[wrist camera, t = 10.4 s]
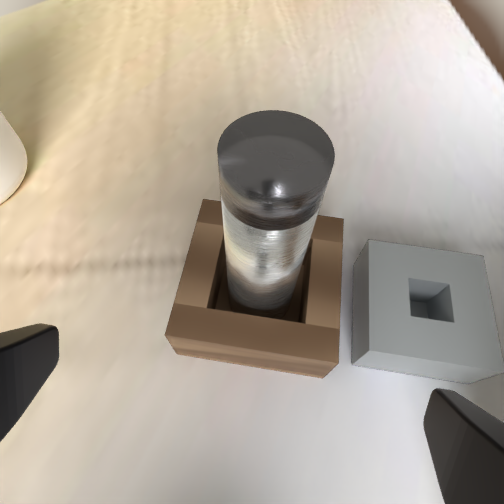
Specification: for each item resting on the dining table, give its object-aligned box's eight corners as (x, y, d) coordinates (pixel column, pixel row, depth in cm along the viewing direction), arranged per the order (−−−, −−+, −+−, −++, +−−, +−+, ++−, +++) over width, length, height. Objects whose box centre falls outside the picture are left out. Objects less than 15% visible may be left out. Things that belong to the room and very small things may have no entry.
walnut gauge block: (322, 378, 22) (338, 363, 18) (176, 354, 22) (164, 334, 19) (329, 250, 26) (343, 218, 23) (208, 232, 26) (203, 199, 23)
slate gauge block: (468, 384, 22) (505, 372, 19) (351, 365, 22) (369, 350, 19) (454, 280, 25) (483, 255, 22) (353, 265, 25) (368, 239, 22)
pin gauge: (302, 299, 24) (359, 155, 12) (257, 339, 22) (272, 217, 11) (261, 259, 25) (278, 95, 14) (216, 293, 24) (193, 144, 12)
